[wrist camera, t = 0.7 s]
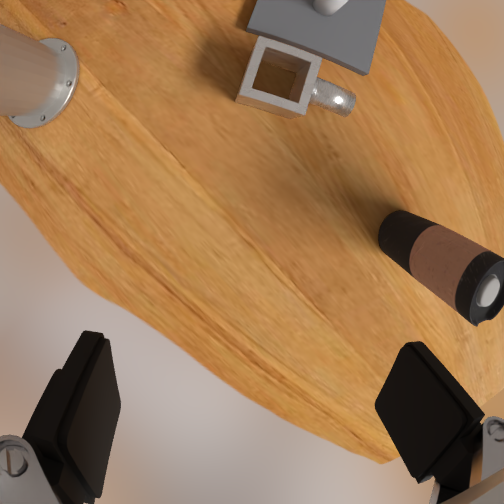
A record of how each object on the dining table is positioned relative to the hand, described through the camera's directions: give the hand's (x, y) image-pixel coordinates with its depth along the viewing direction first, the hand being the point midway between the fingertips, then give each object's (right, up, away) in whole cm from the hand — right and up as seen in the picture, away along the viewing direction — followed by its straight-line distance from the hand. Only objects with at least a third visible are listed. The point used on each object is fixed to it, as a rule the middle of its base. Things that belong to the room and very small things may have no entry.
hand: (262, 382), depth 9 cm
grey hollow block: (+4, +23, +24) cm, 34 cm away
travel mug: (+21, +7, +33) cm, 40 cm away
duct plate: (+8, +35, +21) cm, 41 cm away
